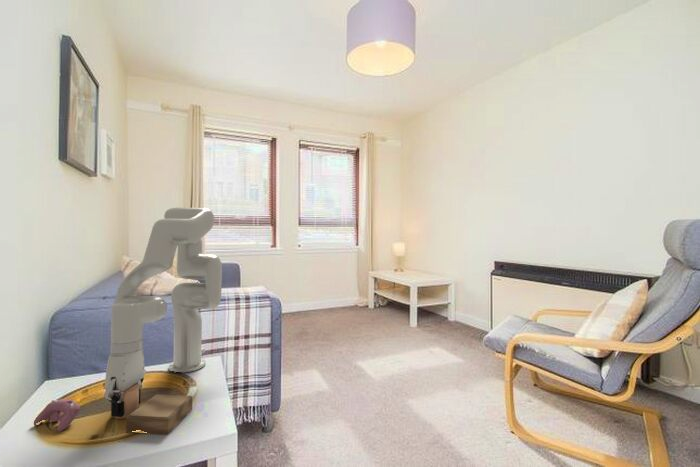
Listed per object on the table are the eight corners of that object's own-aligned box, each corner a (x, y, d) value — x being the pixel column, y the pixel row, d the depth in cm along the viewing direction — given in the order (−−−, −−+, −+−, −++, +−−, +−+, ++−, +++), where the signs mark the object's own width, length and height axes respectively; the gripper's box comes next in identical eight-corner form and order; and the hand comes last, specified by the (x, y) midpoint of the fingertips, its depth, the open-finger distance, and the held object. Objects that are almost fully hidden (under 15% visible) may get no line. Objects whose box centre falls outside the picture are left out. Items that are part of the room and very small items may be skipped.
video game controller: (74, 431, 91) (86, 402, 94) (57, 432, 87) (71, 401, 90) (47, 425, 93) (59, 396, 96) (29, 425, 89) (43, 396, 92)
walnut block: (155, 408, 100) (155, 393, 100) (192, 409, 99) (192, 395, 99) (126, 432, 88) (126, 416, 88) (167, 434, 87) (168, 418, 87)
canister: (123, 406, 100) (123, 381, 100) (143, 407, 100) (143, 382, 100) (108, 418, 94) (108, 391, 94) (129, 419, 94) (129, 392, 94)
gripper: (134, 336, 106) (134, 394, 106) (89, 356, 88) (88, 426, 89) (158, 337, 105) (157, 395, 106) (117, 358, 88) (116, 427, 88)
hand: (126, 408), depth 97 cm, fingers open, 6 cm apart
